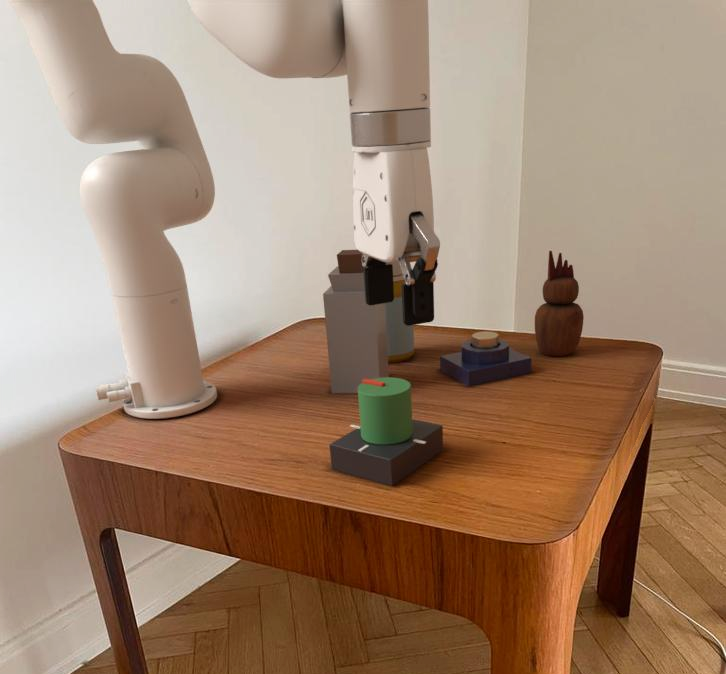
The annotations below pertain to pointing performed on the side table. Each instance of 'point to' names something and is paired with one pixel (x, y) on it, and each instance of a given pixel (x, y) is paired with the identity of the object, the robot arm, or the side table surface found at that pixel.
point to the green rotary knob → (385, 410)
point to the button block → (484, 363)
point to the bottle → (398, 322)
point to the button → (485, 340)
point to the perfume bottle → (353, 327)
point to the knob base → (386, 454)
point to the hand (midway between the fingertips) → (398, 312)
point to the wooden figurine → (559, 311)
